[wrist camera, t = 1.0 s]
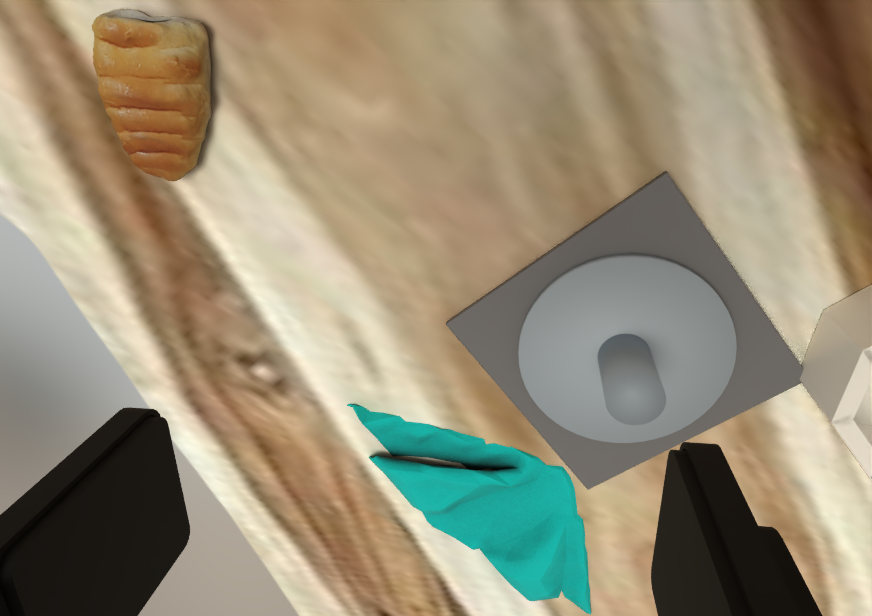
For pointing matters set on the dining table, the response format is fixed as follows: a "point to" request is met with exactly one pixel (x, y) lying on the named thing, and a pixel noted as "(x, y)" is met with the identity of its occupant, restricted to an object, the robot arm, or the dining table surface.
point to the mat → (618, 234)
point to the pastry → (155, 87)
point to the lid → (627, 348)
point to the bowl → (844, 372)
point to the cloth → (491, 504)
